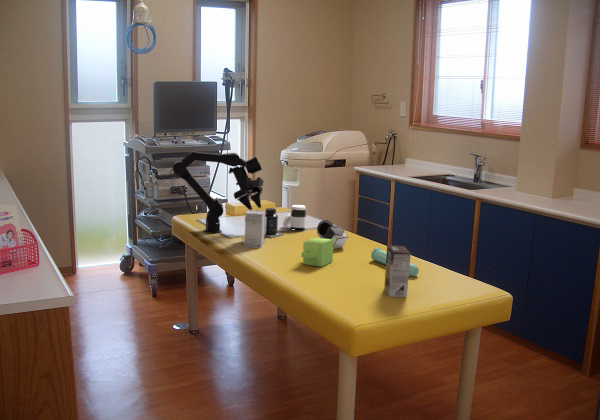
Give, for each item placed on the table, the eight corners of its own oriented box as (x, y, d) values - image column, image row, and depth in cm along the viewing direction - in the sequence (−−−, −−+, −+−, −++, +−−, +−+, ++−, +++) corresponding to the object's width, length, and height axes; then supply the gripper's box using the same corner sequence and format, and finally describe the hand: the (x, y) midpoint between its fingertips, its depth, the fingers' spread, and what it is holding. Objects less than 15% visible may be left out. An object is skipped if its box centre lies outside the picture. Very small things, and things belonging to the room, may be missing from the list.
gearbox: (315, 256, 264) (315, 234, 262) (337, 259, 259) (337, 237, 258) (295, 265, 248) (296, 242, 246) (318, 268, 243) (318, 245, 242)
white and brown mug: (305, 231, 305) (306, 208, 302) (282, 230, 305) (283, 207, 302) (305, 226, 316) (306, 203, 314) (283, 225, 316) (284, 202, 314)
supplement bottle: (279, 233, 297) (280, 208, 295) (274, 236, 291) (275, 210, 289) (265, 231, 299) (266, 206, 297) (260, 234, 293) (261, 209, 291)
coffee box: (383, 288, 224) (386, 245, 221) (401, 288, 224) (404, 245, 221) (389, 297, 215) (392, 251, 212) (407, 297, 216) (411, 252, 212)
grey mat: (256, 234, 295) (256, 233, 295) (269, 231, 301) (269, 230, 301) (270, 238, 289) (270, 237, 289) (283, 235, 296) (283, 234, 296)
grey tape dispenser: (310, 237, 294) (311, 216, 292) (330, 237, 297) (331, 216, 295) (328, 251, 270) (329, 229, 269) (349, 251, 273) (351, 228, 271)
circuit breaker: (266, 240, 285) (267, 208, 282) (261, 248, 271) (262, 214, 268) (250, 239, 285) (251, 206, 282) (244, 246, 271) (245, 213, 269)
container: (419, 262, 239) (380, 245, 260) (408, 269, 237) (369, 251, 258) (423, 274, 241) (383, 257, 262) (411, 282, 239) (372, 263, 260)
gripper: (246, 172, 280) (260, 204, 279) (265, 170, 297) (278, 199, 296) (227, 182, 285) (241, 213, 284) (246, 179, 302) (259, 209, 301)
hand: (255, 208), depth 291 cm, fingers open, 9 cm apart
